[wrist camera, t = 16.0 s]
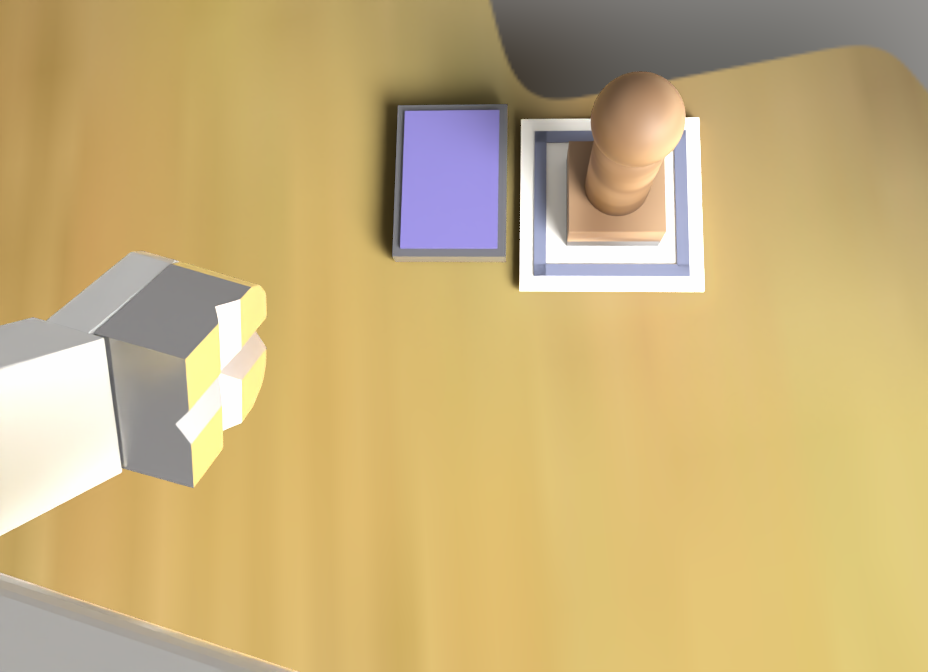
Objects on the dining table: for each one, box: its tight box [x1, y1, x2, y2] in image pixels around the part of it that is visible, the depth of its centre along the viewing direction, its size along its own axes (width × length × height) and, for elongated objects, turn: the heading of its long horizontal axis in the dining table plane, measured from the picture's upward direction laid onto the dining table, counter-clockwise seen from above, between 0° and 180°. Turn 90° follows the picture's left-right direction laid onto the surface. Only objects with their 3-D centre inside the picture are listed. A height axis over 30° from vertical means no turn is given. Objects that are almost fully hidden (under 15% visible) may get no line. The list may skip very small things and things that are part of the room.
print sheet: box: [520, 117, 705, 292], centre depth 42 cm, size 9×9×1 cm
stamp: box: [566, 71, 686, 246], centre depth 36 cm, size 4×4×11 cm
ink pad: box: [392, 104, 508, 262], centre depth 42 cm, size 6×8×1 cm
